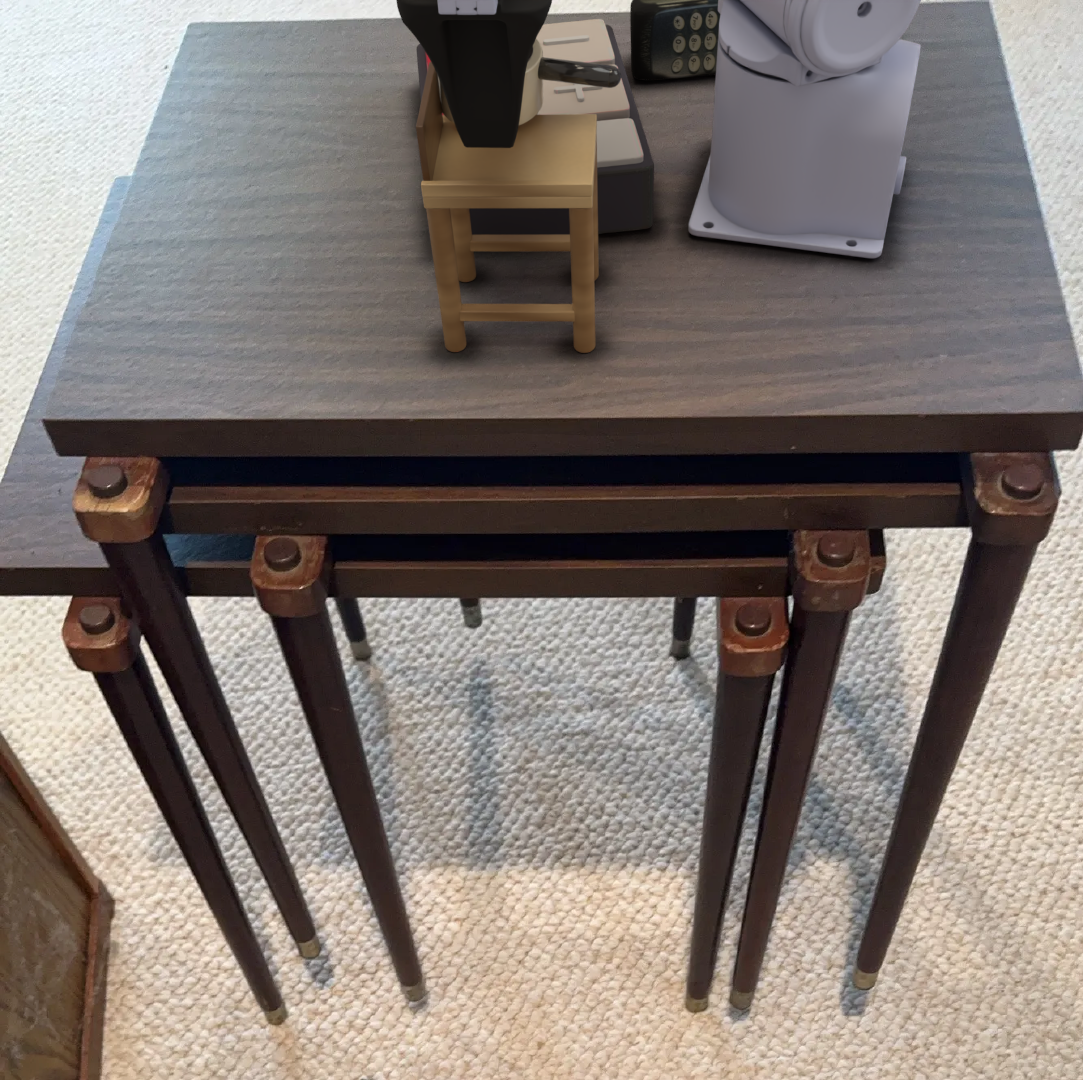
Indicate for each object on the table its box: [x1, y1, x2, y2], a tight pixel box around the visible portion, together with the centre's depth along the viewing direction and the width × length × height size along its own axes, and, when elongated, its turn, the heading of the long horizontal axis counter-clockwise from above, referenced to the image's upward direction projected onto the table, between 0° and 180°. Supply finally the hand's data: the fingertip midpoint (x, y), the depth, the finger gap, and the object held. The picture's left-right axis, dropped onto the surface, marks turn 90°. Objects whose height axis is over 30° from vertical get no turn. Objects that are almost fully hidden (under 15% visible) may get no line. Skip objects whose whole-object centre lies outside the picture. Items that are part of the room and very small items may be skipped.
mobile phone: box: [629, 0, 721, 81], centre depth 72 cm, size 5×3×15 cm
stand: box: [425, 134, 600, 354], centre depth 58 cm, size 7×6×8 cm
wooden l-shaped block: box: [415, 62, 597, 210], centre depth 54 cm, size 7×6×4 cm
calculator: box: [416, 18, 655, 235], centre depth 67 cm, size 11×4×15 cm
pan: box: [438, 39, 621, 125], centre depth 55 cm, size 8×5×2 cm, turn 76°
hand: (497, 90), depth 54 cm, fingers open, 7 cm apart
